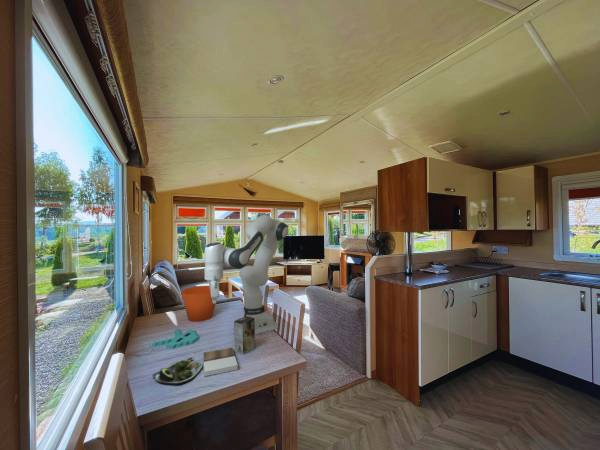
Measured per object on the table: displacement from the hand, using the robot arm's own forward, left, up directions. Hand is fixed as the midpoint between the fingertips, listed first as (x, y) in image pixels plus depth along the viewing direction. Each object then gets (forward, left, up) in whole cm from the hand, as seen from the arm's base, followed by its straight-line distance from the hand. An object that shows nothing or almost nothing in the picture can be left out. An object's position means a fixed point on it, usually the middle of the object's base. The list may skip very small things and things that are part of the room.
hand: (214, 302), depth 127 cm
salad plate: (+16, +11, -27) cm, 33 cm away
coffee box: (-15, 0, -27) cm, 31 cm away
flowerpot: (+6, -60, -27) cm, 66 cm away
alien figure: (+17, -26, -27) cm, 41 cm away
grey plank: (-2, +13, -26) cm, 29 cm away
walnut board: (-2, +3, -27) cm, 27 cm away
